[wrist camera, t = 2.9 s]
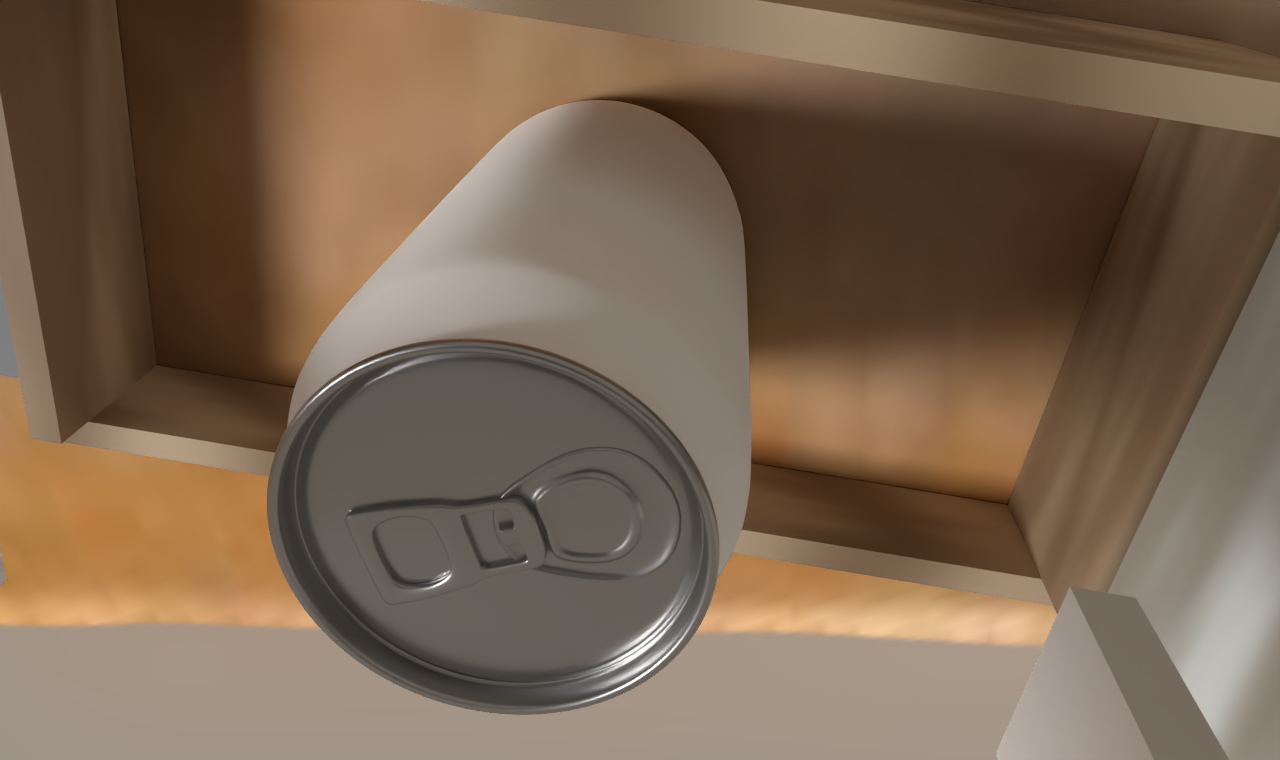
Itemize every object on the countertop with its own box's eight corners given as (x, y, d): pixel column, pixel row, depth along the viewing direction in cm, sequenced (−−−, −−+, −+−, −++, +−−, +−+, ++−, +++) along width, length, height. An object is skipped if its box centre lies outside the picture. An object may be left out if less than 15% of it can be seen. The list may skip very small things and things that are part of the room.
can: (769, 330, 23) (802, 706, 12) (519, 381, 24) (353, 764, 14) (708, 60, 20) (683, 246, 10) (430, 134, 21) (134, 371, 11)
